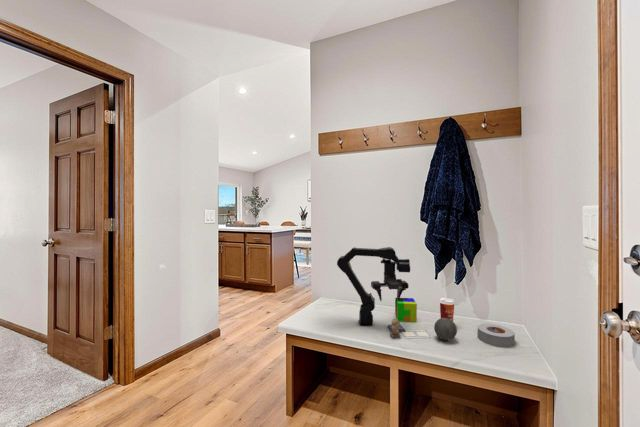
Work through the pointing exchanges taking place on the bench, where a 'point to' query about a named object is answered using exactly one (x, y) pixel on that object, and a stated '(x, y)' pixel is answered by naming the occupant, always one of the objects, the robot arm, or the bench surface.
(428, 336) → the print card
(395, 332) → the stamp
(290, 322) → the bench surface
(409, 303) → the puzzle toy
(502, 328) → the tape roll
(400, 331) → the ink pad
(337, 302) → the bench surface
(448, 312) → the paper cup
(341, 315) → the bench surface
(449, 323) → the decorative ball
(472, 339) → the bench surface
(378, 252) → the robot arm
